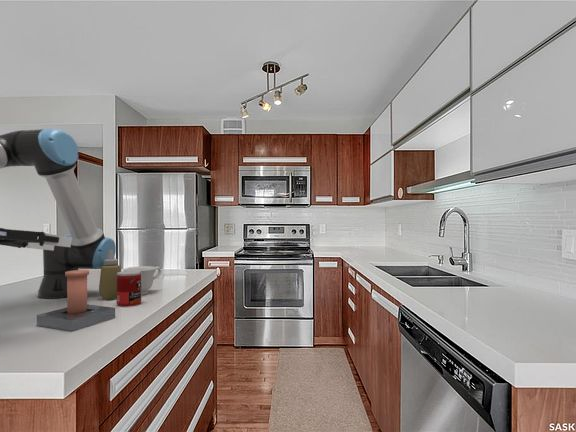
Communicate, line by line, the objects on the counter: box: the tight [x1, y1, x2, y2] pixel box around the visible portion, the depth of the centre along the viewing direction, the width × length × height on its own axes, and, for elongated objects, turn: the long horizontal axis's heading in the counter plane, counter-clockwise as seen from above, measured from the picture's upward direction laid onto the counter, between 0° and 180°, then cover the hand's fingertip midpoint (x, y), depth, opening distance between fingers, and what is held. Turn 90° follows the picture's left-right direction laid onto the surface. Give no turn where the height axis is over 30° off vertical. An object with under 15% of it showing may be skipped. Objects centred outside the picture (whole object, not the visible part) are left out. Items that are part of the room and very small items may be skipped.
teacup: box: [122, 265, 162, 296], centre depth 145 cm, size 12×15×10 cm
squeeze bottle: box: [98, 250, 122, 301], centre depth 136 cm, size 8×8×18 cm
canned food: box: [116, 270, 142, 307], centre depth 127 cm, size 8×8×11 cm
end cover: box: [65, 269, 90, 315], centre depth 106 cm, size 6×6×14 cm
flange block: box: [36, 303, 116, 332], centre depth 106 cm, size 14×14×3 cm
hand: (62, 244), depth 104 cm, fingers open, 13 cm apart
